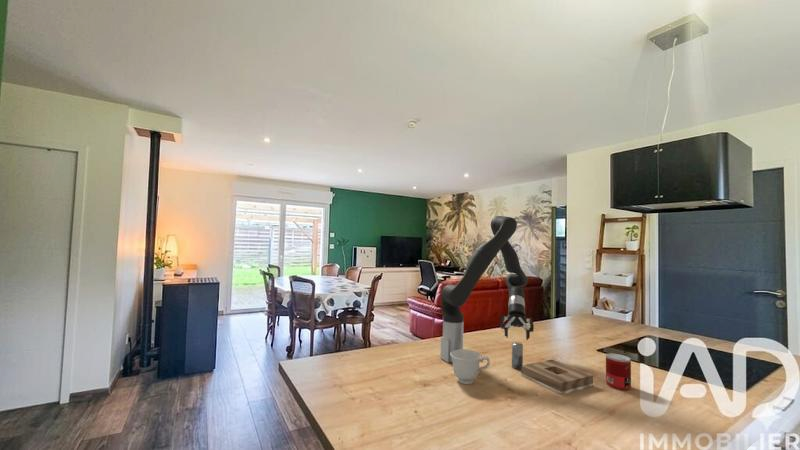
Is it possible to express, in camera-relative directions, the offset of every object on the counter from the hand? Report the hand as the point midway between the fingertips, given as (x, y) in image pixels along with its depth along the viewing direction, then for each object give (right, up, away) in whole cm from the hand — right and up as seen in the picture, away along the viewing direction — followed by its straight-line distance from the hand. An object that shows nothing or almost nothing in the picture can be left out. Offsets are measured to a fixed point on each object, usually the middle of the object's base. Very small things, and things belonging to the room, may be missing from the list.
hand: (517, 337), depth 148 cm
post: (-2, -11, -6) cm, 13 cm away
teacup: (-26, -9, -22) cm, 35 cm away
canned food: (+30, -11, -22) cm, 39 cm away
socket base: (+9, -10, -19) cm, 23 cm away
